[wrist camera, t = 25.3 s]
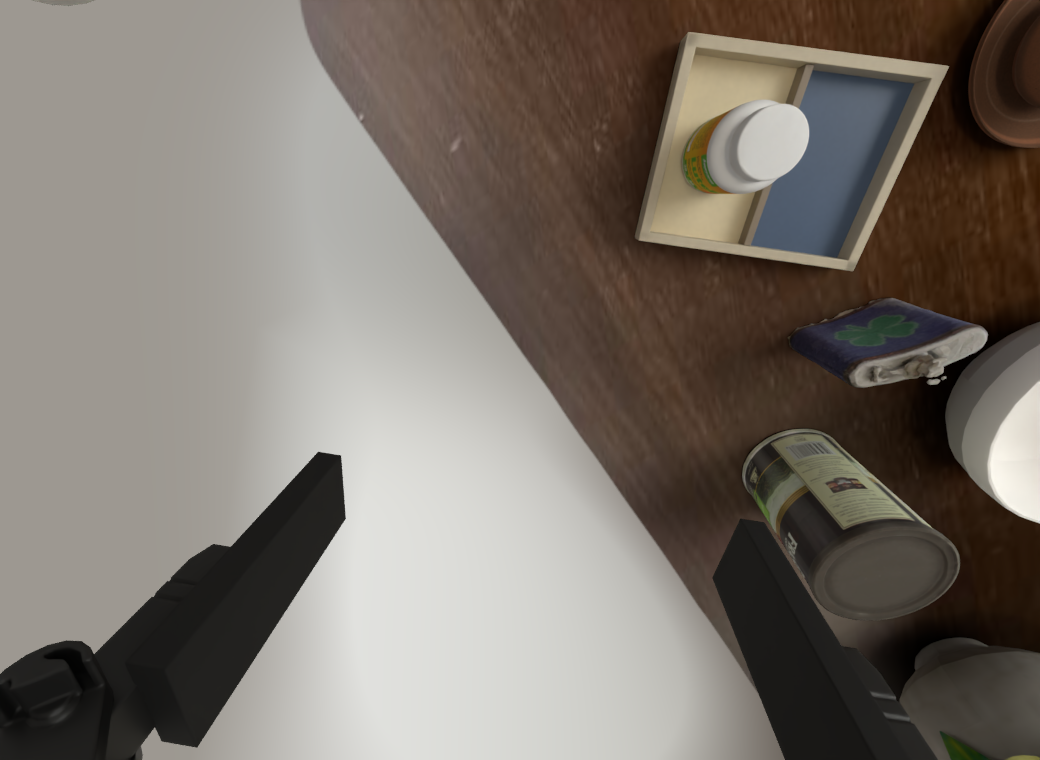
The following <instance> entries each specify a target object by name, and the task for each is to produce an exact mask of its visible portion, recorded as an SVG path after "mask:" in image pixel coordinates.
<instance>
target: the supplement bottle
mask: <svg viewBox="0 0 1040 760" xmlns="http://www.w3.org/2000/svg"><path fill="white" fill-rule="evenodd" d="M808 140H809V125H808V122H807V119H806V117H805V115H804V114H803V113H802V112H801V111H800V110H799V109H798V108H797V107H795V106H793V105H790V104H780V103H778V102H775V101H771V100H754V101H750V102H747V103H744V104H742V105H739V106H737V107H735V108H733V109H731V110H729V111H727V112H725V113H723V114H721V115H719V116H717V117H715V118H712V119H710V120H708V121H707V122H705V123H704V124H702V125H701V126H700V127H699V128H697V129H696V130H695V132H694V133H693V134H692V135H691V137H690V138H689V140H688V141H687V144H686V146H685V148H684V152H683V156H682V169H683V173H684V176H685V178H686V180H687V182H688V183H689V184H690V185H691V186H692V187H693V188H694V189H696V190H697V191H700V192H703V193H708V194H747V193H752V192H756V191H759V190H761V189H763V188H765V187H767V186H769V185H770V184H772V183H773V182H774V181H775V180H777V179H778V178H779V177H781V176H783V175H785V174H786V173H788V172H789V171H790V170H791V169H792V168H794V166H795V165H796V164H797V163H798V162H799V160H800V159H801V158H802V156H803V154H804V152H805V150H806V147H807V144H808Z"/></svg>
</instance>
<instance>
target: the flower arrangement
mask: <svg viewBox="0 0 1040 760" xmlns="http://www.w3.org/2000/svg"><path fill="white" fill-rule="evenodd" d="M915 670H916V671H915V672H914V674H913V675H912V676H911V677H910V679H909V680H908V681H907V682H906V684H905V686H904V689H903V691H902V694H901V697H900V701H899V702H900V704H901V705H902V707H903V708H904V709H905V711H906V712H907V714H908V715H909V717H910V721H911V723H913V724H915V726H916V727H917V729H918V730H919V732H920V733H921V735H922V736H923V738H924V739H925V741H926V742H927V744H928V745H929V747H930V748H931V750H932V751H933V753H934V754H935V756H936V757H937V759H938V760H1040V653H1037V652H1032V651H1028V650H1023V649H1017V648H1009V647H1001V646H988V645H985V644H983V643H981V642H979V641H977V640H974V639H969V638H961V637H958V638H948V639H943V640H940V641H937V642H934V643H931V644H930V645H928V646H926V647H925V648H923V649H922V650H921V651H920V652H919V653H918V654H917V656H916V657H915Z"/></svg>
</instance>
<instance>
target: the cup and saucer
mask: <svg viewBox="0 0 1040 760" xmlns="http://www.w3.org/2000/svg"><path fill="white" fill-rule="evenodd" d="M968 94H969V103H970V108H971V111H972V114H973V117H974V119H975V121H976V122H977V124H978V125H979V127H980V128H981V129H982V130H983V131H984V133H986V134H987V135H988V136H989V137H991V138H992V139H994V140H996V141H998V142H1000V143H1003V144H1006V145H1010V146H1014V147H1021V148H1040V0H1004V2H1003V3H1002V4H1001V6H1000V7H999V8H998V10H997V11H996V13H995V14H994V16H993V17H992V19H991V20H990V22H989V24H988V26H987V27H986V29H985V31H984V33H983V35H982V37H981V39H980V41H979V44H978V46H977V49H976V51H975V55H974V58H973V61H972V65H971V69H970V75H969V84H968Z"/></svg>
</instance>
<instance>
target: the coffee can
mask: <svg viewBox="0 0 1040 760" xmlns="http://www.w3.org/2000/svg"><path fill="white" fill-rule="evenodd" d="M742 478H743V482H744V485H745V487H746V489H747V491H748V492H749V493H750V494H751V495H752V497H753V498H754V500H755V501H756V503H757V505H758V506H759V508H760V509H761V511H762V512H763V514H764V515H765V517H766V519H767V520H768V522H769V523H770V525H771V526H772V528H773V530H774V531H775V533H776V534H777V536H778V537H779V539H780V541H781V542H782V544H783V545H784V547H785V548H786V550H787V551H788V553H789V554H790V556H791V557H792V559H793V561H794V562H795V564H796V565H797V567H798V568H799V570H800V572H801V573H802V575H803V576H804V578H805V579H806V581H807V583H808V584H809V586H810V589H811V591H812V593H813V595H814V597H815V598H816V600H817V601H818V602H819V603H820V605H822V606H823V607H824V608H825V609H826V610H828V611H830V612H831V613H833V614H835V615H838V616H841V617H845V618H849V619H854V620H884V619H890V618H896V617H899V616H903V615H906V614H909V613H912V612H914V611H917V610H919V609H921V608H923V607H925V606H927V605H929V604H930V603H932V602H934V601H935V600H937V599H938V598H939V597H940V596H941V595H943V594H944V593H945V592H946V591H947V590H948V589H949V588H950V586H951V585H952V584H953V582H954V581H955V579H956V577H957V575H958V572H959V568H960V558H959V554H958V551H957V549H956V547H955V546H954V545H953V543H952V542H951V541H950V540H948V539H947V538H946V537H945V536H944V535H942V534H941V533H939V532H938V531H936V530H935V529H933V528H932V527H931V526H929V525H928V524H927V523H926V522H925V521H924V520H923V519H922V518H920V517H919V516H918V515H917V514H916V513H915V512H914V511H913V510H912V509H910V508H909V507H908V506H907V505H906V504H905V503H904V502H902V501H901V500H900V499H899V498H898V497H897V496H896V495H895V494H894V493H892V492H891V491H890V490H889V489H888V488H887V487H886V486H885V485H883V484H882V483H881V482H880V481H879V480H878V479H877V478H876V477H875V476H873V475H872V474H871V473H870V472H869V471H868V470H867V469H865V468H864V467H863V466H862V465H861V464H860V463H859V462H858V461H856V460H855V459H854V458H853V457H852V456H851V455H850V454H849V453H847V452H846V451H845V450H844V449H843V448H842V447H841V446H840V445H839V444H838V443H837V442H836V441H835V440H834V439H833V438H832V437H831V436H829V435H827V434H825V433H823V432H821V431H817V430H813V429H792V430H787V431H783V432H780V433H777V434H775V435H773V436H771V437H768V438H767V439H765V440H764V441H763V442H761V443H760V444H758V445H757V446H756V447H755V448H754V449H753V450H752V451H751V453H750V454H749V455H748V457H747V459H746V461H745V463H744V465H743V471H742Z"/></svg>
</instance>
